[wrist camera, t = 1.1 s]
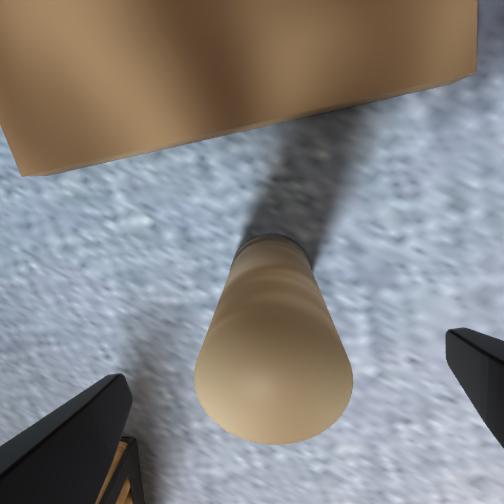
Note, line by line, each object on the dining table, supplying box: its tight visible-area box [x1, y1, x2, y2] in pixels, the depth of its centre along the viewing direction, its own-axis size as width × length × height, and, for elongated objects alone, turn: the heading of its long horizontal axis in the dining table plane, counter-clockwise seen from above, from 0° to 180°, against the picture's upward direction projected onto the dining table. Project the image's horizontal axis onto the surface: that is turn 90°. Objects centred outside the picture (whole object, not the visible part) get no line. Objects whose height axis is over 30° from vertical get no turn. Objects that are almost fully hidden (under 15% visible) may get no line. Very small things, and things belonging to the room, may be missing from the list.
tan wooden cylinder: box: [194, 234, 353, 445], centre depth 11 cm, size 4×4×8 cm
